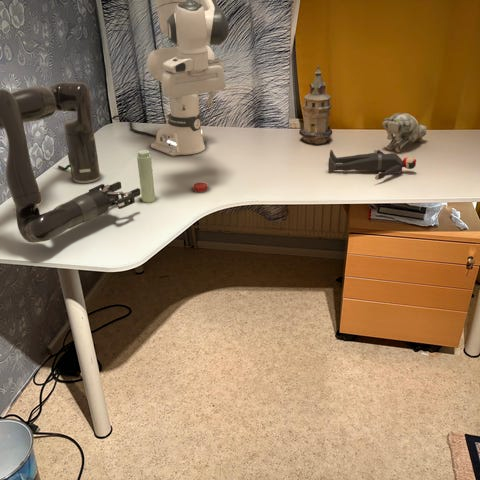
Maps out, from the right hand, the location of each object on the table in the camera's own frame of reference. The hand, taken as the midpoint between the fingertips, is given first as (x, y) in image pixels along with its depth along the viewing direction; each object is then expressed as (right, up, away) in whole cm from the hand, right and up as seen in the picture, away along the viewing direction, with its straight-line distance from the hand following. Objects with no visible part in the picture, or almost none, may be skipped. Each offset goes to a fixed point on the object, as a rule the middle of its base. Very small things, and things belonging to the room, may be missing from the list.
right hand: (195, 108), depth 166 cm
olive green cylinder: (-16, -28, +7) cm, 33 cm away
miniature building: (+45, 0, +55) cm, 71 cm away
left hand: (-20, -25, -1) cm, 32 cm away
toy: (+60, -16, +26) cm, 68 cm away
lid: (0, -23, +13) cm, 26 cm away
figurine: (+78, -4, +47) cm, 91 cm away
